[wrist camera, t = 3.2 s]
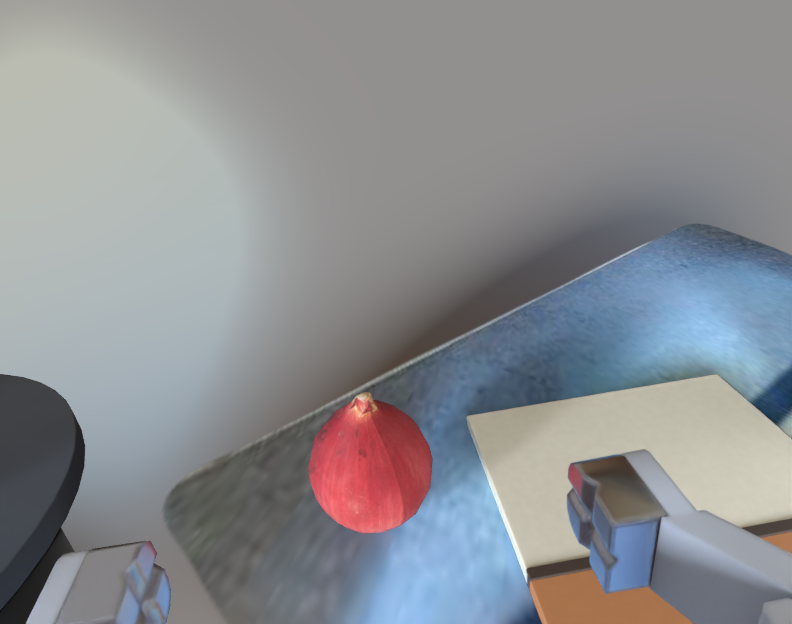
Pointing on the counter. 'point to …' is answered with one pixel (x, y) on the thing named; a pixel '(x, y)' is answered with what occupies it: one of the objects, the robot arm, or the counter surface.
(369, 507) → the onion
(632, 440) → the sorting board
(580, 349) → the counter surface
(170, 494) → the counter surface
